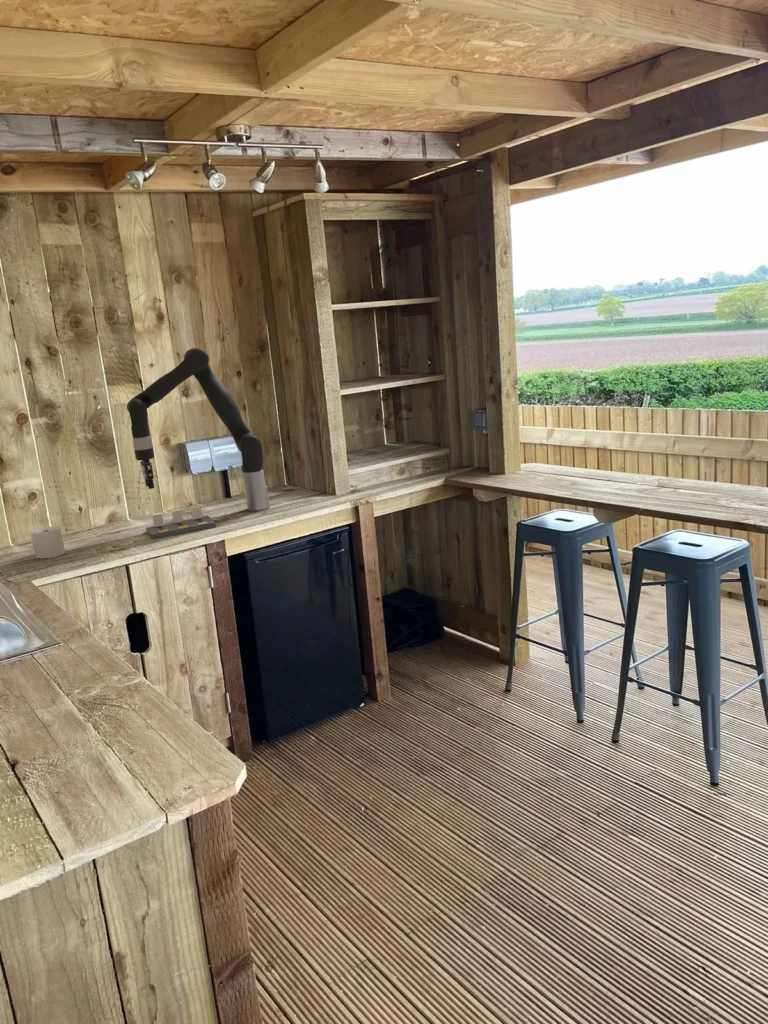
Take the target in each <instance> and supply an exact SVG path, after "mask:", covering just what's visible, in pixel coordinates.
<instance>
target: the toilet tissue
mask: <svg viewBox="0 0 768 1024" xmlns="http://www.w3.org/2000/svg"><path fill="white" fill-rule="evenodd" d="M30 536H31V540H32V541H31V542H32V546H33V549H34V554H35V558H36V559H38V558H40V559H39V560H46V559H45V558H48V559H53V558H57V557H60V556H61V555H63V554H65V553H66V549H65V545H64V544H65V543H64V541H63V535H62V531H61V527H60V526H47V527H46V525H44V526H41V527H38V528H36V529H34V530H33V531H31V532H30ZM52 557H53V558H52ZM41 558H42V559H41ZM43 558H44V559H43Z"/></svg>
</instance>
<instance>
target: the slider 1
mask: <svg viewBox="0 0 768 1024" xmlns="http://www.w3.org/2000/svg"><path fill="white" fill-rule="evenodd" d="M151 515H152V521H153V526H155V527H159V526H164V524H165V523H164V517H163V513H162V512H157V513H155V512H154V513H152V514H151Z"/></svg>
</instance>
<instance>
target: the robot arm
mask: <svg viewBox="0 0 768 1024" xmlns="http://www.w3.org/2000/svg"><path fill="white" fill-rule="evenodd" d="M192 376H194V378H195V379H196V380H197V382H198V383H199V385H200V387H201V389H202V391H203V393H204V394H205V396H206V398H207V400H208V402H209V403H210V405H211V407H212V409H213V410H214V412H215V413H216V415H217V416H218V418H219V419H220V420H221V422H222V423H223V424H224V425H225V427H226V428H227V430H228V431H229V432H230V435H231V437H232V438H233V440H234V442H235V444H236V447H237V449H238V450H239V452H240V454H241V460H242V464H241V472H242V479H243V487H244V493H245V501H246V509H247V511H251V512H252V511H253V512H256V511H263V510H267V509H268V508H269V509H270V499H269V491H268V486H266V480H265V479H266V478H265V470H264V453H263V452H264V451H263V444H262V441H261V440H260V438H259V437H258V436H256V435H254V434H253V433H252V432H251V430H250V429H249V427H247V425H246V424H245V422H244V420H243V417H242V415H241V412H240V410H239V407H238V405H237V403H236V402H235V400H234V397H233V396H232V395H231V393H230V392H229V390H228V389H227V387H226V386H225V385H224V384H223V383H222V382H221V380H219V379H218V377H217V376H216V375H215V374H214V372H213V369H212V368H211V366H210V356H209V354H208V353H207V351H205V350H204V349H201V348H197V347H196V348H195V347H194V348H193V347H192V348H190V349H188V350H186V352H185V353H184V356H183V360H182V361H181V362H180V363H179V364H178V365H177V366H176V367H174V368H173V369H171V370H170V371H169V372H167V373H166V374H164V375H162V376H161V377H159V378H158V379H156V380H155V381H154V382H152V383H151V384H150V385H149V386H148V387H146V388H145V389H144V390H143V391H141V392H140V393H138V394H137V395H135V396H134V397H132V398H131V399H130V400H129V401H127V404H126V409H127V412H128V413H129V418H130V422H131V423H130V424H131V426H130V430H131V435H132V445H133V451H134V456H135V457H134V458H135V460H136V461H140V467H141V471H142V475H143V477H144V481H145V486H146V487H148V489H149V490H150V489H151V490H152V489H153V490H154V489H155V485H154V478H155V477H154V471H153V463H152V462H151V461H150V460H152V459H154V458H155V451H154V445H153V441H152V436H151V431H150V426H149V416H148V409H149V408H150V407H151V406H153V405H154V404H157V403H158V402H160V401H162V399H163V398H165V397H166V396H167V395H169V393H171V392H172V391H173V390H174V389H176V388H177V387H178V386H180V385H181V384H182V383H183V382H184V381H186V380H187V379H189V378H190V377H192Z"/></svg>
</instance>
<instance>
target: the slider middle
mask: <svg viewBox="0 0 768 1024" xmlns="http://www.w3.org/2000/svg"><path fill="white" fill-rule="evenodd" d="M171 515H172V516H171V517H172V522H174V523H179V522H183V520H184V517H183V516H184V515H183V511H182V509H181V508H177V509H172V510H171Z"/></svg>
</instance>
